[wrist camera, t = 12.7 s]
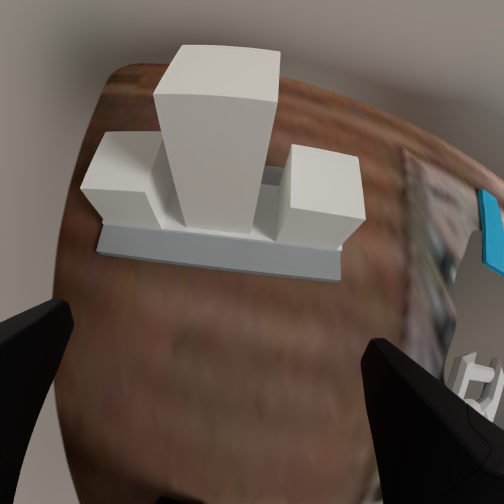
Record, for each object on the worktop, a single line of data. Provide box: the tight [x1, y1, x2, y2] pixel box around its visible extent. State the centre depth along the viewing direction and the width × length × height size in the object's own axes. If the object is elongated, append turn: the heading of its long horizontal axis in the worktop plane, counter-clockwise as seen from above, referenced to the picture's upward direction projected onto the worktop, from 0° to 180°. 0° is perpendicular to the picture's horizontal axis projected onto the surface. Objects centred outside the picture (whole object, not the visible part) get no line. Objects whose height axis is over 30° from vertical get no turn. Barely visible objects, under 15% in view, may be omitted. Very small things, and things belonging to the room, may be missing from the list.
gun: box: [446, 352, 504, 422], centre depth 17 cm, size 18×3×10 cm
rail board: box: [80, 131, 366, 283], centre depth 21 cm, size 10×20×7 cm, turn 85°
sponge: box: [478, 189, 504, 277], centre depth 27 cm, size 2×12×6 cm
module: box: [153, 45, 280, 235], centre depth 17 cm, size 5×5×13 cm
